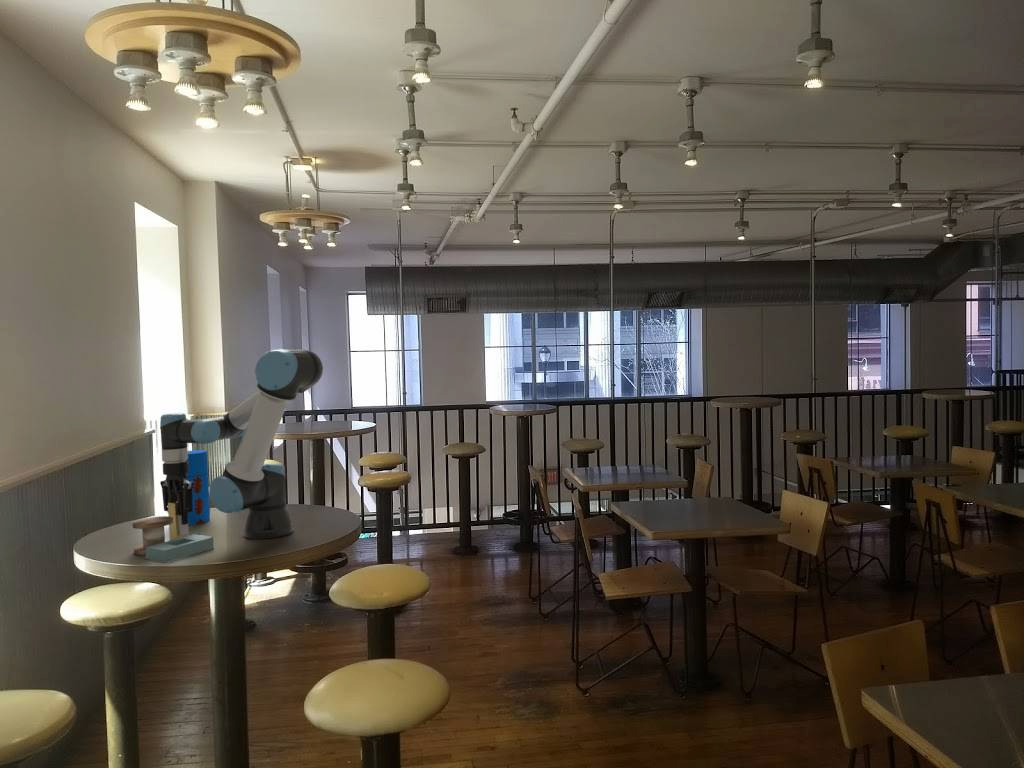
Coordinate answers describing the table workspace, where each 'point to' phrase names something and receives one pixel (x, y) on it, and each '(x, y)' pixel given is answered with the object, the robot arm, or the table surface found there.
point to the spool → (151, 531)
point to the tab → (175, 521)
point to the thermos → (199, 487)
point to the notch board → (179, 548)
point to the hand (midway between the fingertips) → (179, 533)
